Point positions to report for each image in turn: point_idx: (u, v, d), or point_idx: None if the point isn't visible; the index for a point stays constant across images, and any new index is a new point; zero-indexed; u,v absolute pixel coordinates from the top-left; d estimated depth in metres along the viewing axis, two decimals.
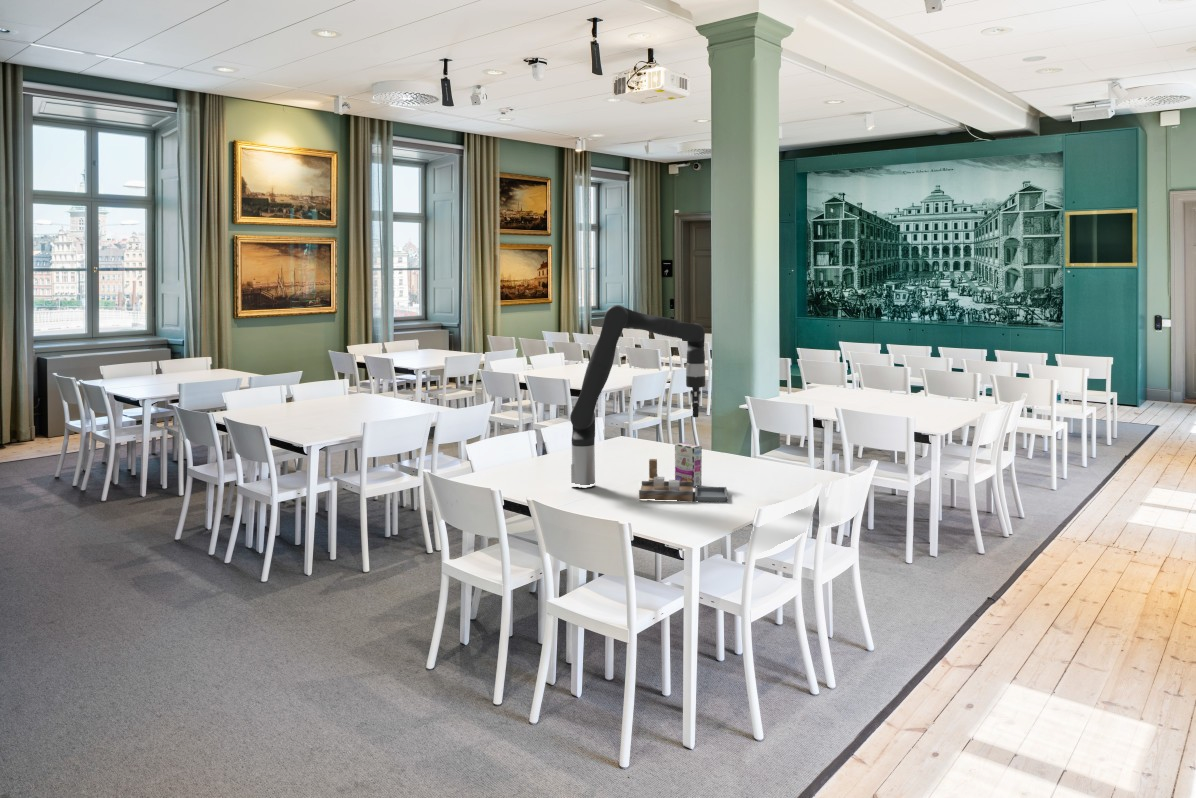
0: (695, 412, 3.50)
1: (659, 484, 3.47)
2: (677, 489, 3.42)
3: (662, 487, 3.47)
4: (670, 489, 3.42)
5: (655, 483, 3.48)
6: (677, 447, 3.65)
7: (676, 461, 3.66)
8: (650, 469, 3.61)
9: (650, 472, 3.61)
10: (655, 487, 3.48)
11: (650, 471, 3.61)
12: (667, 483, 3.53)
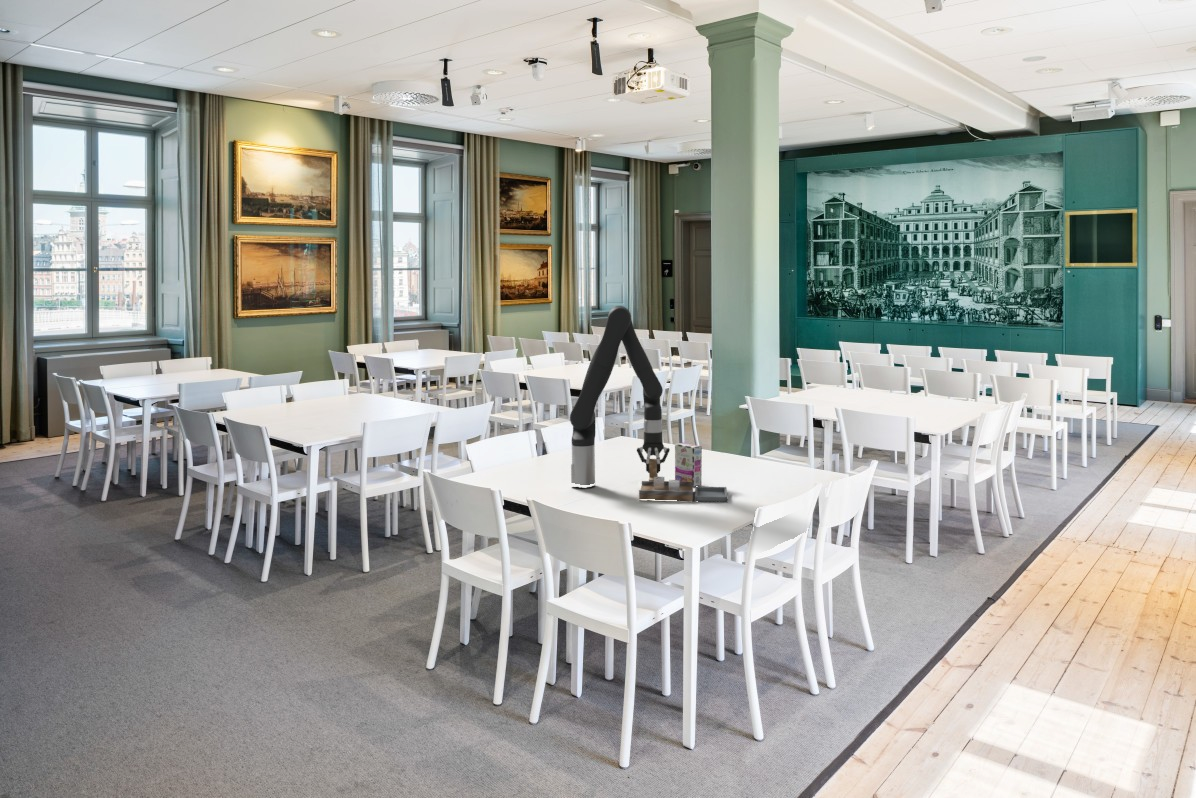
0: None
1: (659, 484, 3.47)
2: (677, 489, 3.42)
3: (662, 487, 3.47)
4: (670, 489, 3.42)
5: (655, 483, 3.48)
6: (677, 447, 3.65)
7: (676, 461, 3.66)
8: (650, 469, 3.61)
9: (650, 472, 3.61)
10: (655, 487, 3.48)
11: (650, 471, 3.61)
12: (667, 483, 3.53)
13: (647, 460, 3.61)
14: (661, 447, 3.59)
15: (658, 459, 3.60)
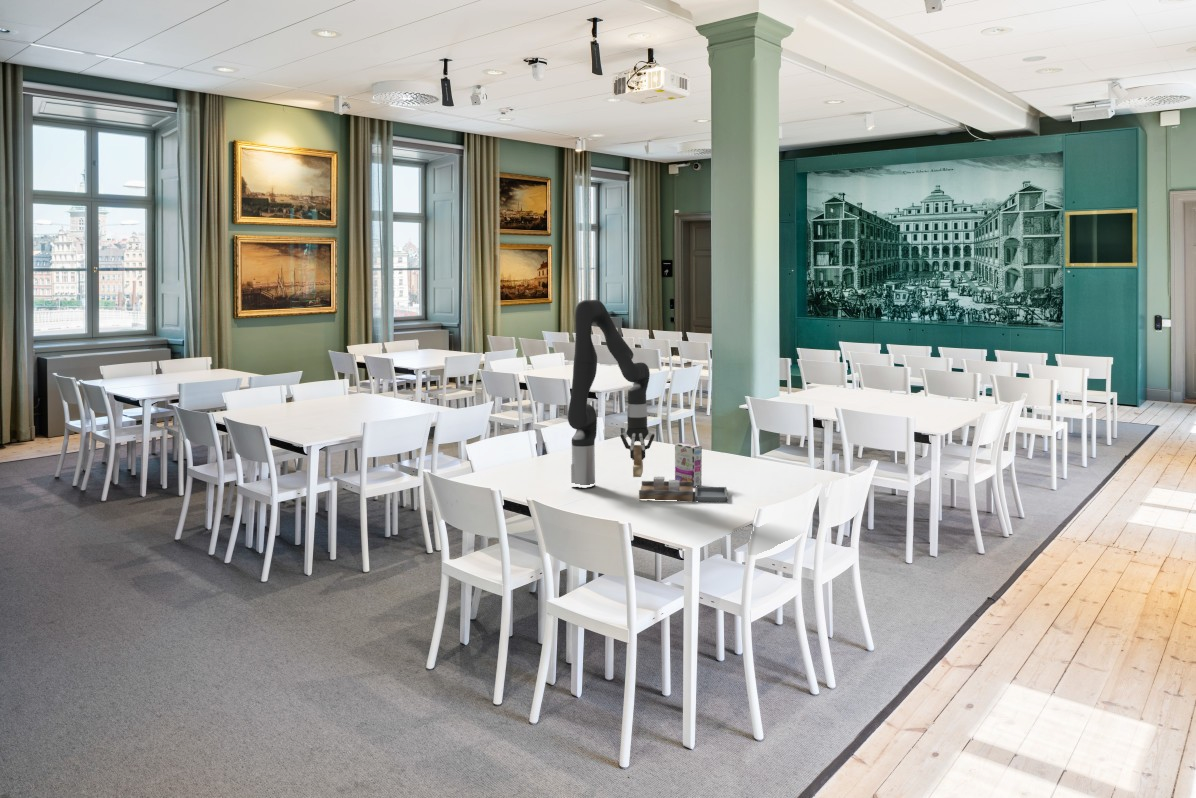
0: None
1: (659, 484, 3.47)
2: (677, 489, 3.42)
3: (662, 487, 3.47)
4: (670, 489, 3.42)
5: (655, 483, 3.48)
6: (677, 447, 3.65)
7: (676, 461, 3.66)
8: (634, 455, 3.44)
9: (635, 459, 3.45)
10: (655, 487, 3.48)
11: (635, 458, 3.44)
12: (667, 483, 3.53)
13: (631, 446, 3.44)
14: (646, 432, 3.43)
15: (643, 445, 3.44)
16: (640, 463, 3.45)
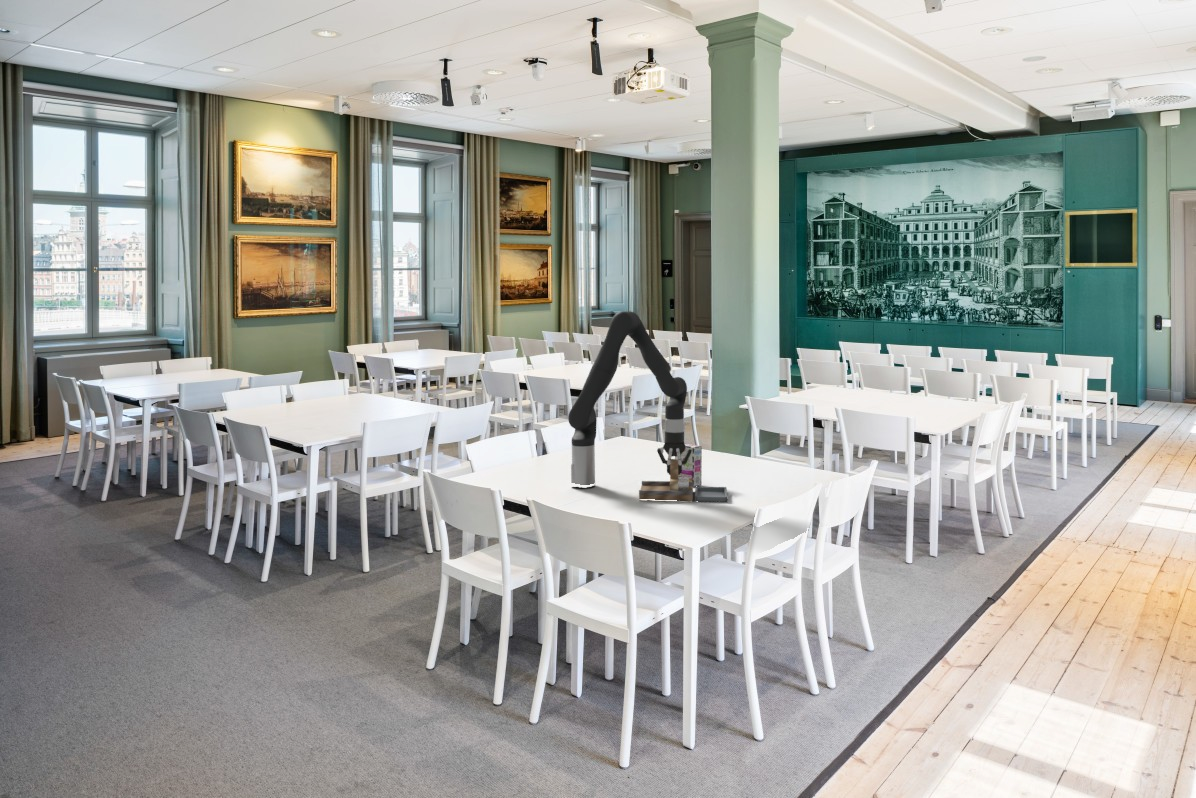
0: (681, 469, 3.44)
1: None
2: (686, 489, 3.41)
3: None
4: (679, 489, 3.42)
5: None
6: None
7: None
8: (671, 470, 3.43)
9: (671, 473, 3.44)
10: None
11: (671, 472, 3.44)
12: (667, 483, 3.53)
13: (668, 461, 3.43)
14: (683, 448, 3.42)
15: (680, 460, 3.43)
16: (677, 477, 3.44)
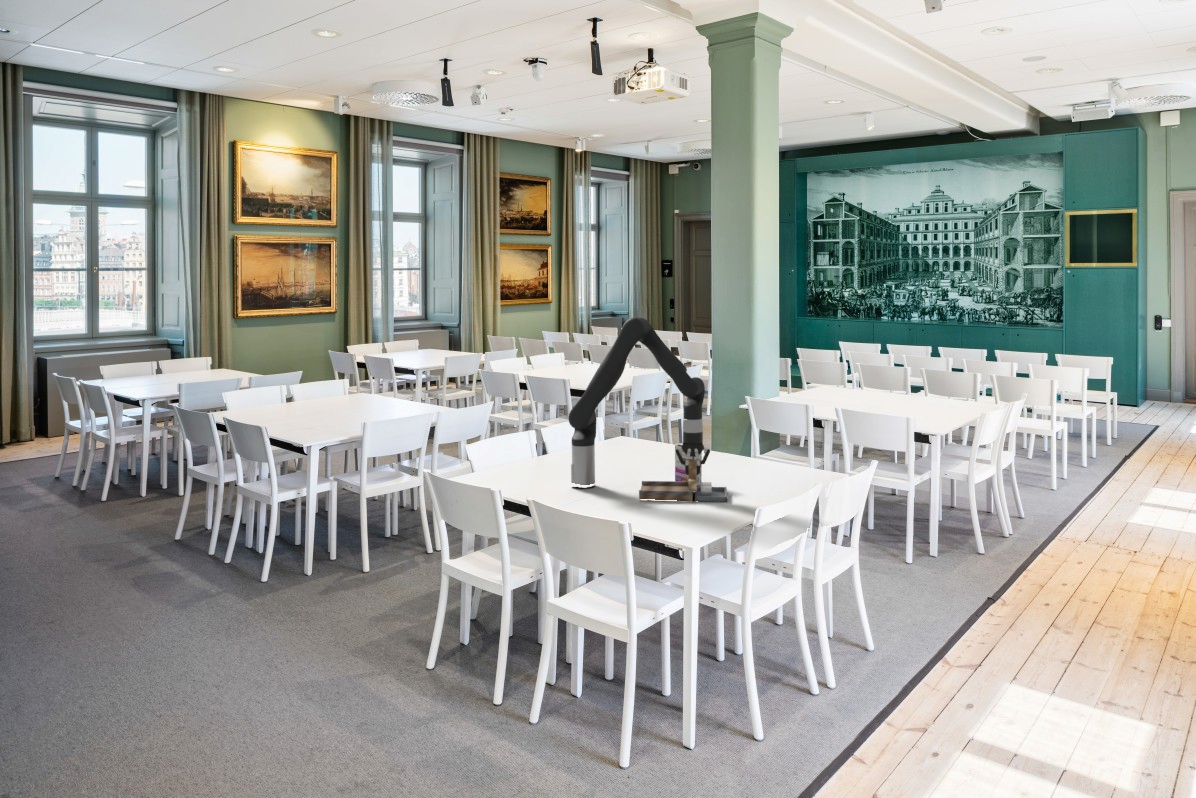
0: None
1: None
2: None
3: None
4: (704, 489, 3.41)
5: None
6: (677, 447, 3.65)
7: (676, 461, 3.66)
8: (690, 470, 3.43)
9: (690, 473, 3.43)
10: None
11: (690, 472, 3.43)
12: (667, 483, 3.53)
13: (686, 461, 3.43)
14: (701, 448, 3.41)
15: (698, 460, 3.42)
16: (695, 477, 3.43)
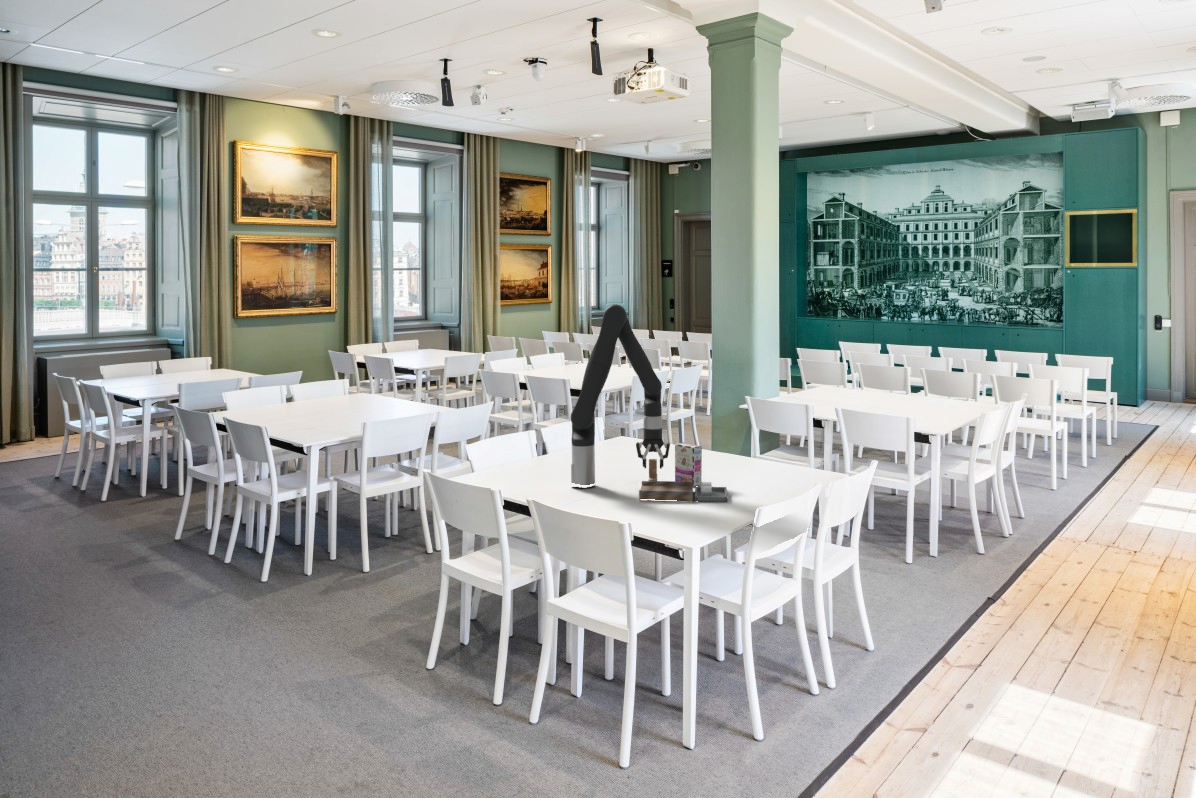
0: None
1: None
2: None
3: None
4: (704, 489, 3.41)
5: None
6: (677, 447, 3.65)
7: (676, 461, 3.66)
8: (650, 469, 3.61)
9: (650, 472, 3.61)
10: None
11: (650, 471, 3.61)
12: (667, 483, 3.53)
13: (644, 455, 3.61)
14: (661, 443, 3.59)
15: (660, 455, 3.60)
16: (655, 476, 3.61)
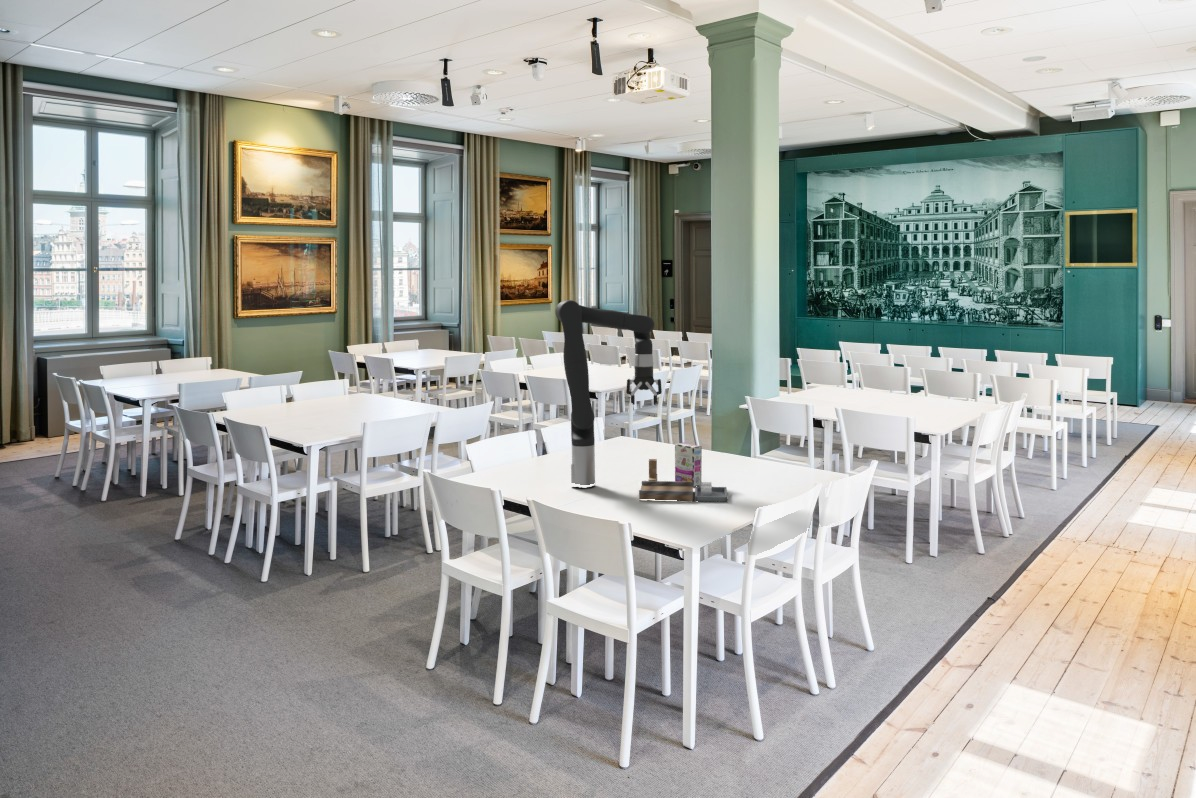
0: None
1: None
2: None
3: None
4: (704, 489, 3.41)
5: None
6: (677, 447, 3.65)
7: (676, 461, 3.66)
8: (650, 469, 3.61)
9: (650, 472, 3.61)
10: None
11: (650, 471, 3.61)
12: (667, 483, 3.53)
13: (633, 392, 3.66)
14: (652, 381, 3.64)
15: (653, 391, 3.65)
16: (655, 476, 3.61)
